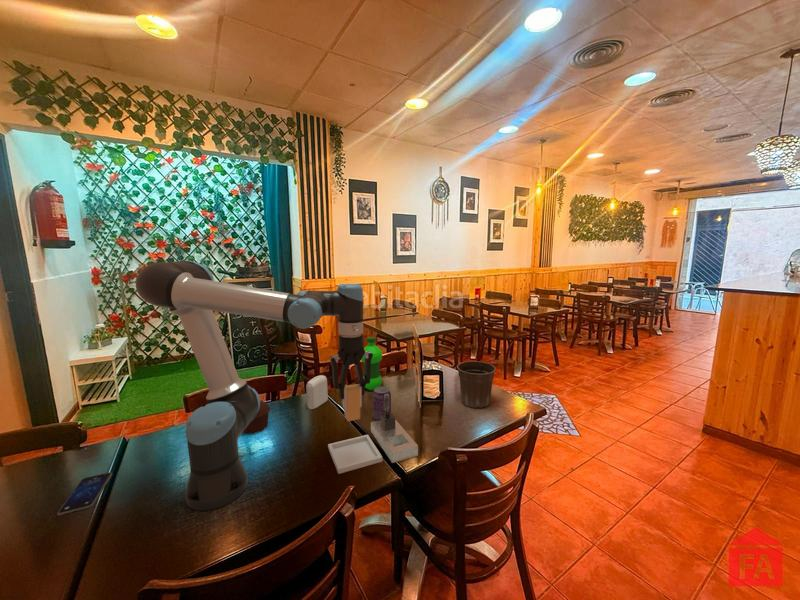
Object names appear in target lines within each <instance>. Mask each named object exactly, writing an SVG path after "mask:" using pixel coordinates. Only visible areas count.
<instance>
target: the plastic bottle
mask: <svg viewBox="0 0 800 600" xmlns="http://www.w3.org/2000/svg"><path fill="white" fill-rule="evenodd" d="M366 343H367V345H365V346H364V350H365V351H367V352H368V351H370V352H371V353H372V354H373V357H372V359H371V374H370V383H369V384H366V386H365V387H364V389H366V390H368V391H374V389H375V388H376V387H381V386H382V383H383V382H382V376H381V374H380V373H381V372H380V371H381V370H380V369H381V368H380V366H381V365H380V362H381V361H382V359H383V351H382V350H381V348H380V347H379V346H378V345H376V344H375V343H376V337H375V336H368V337H366ZM360 361H362V362H363V372H364V371H365V357H364V356H363V357H362V359H361V360H360ZM363 378H364V375H363Z"/></svg>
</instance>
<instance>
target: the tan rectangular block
mask: <svg viewBox="0 0 800 600" xmlns="http://www.w3.org/2000/svg"><path fill="white" fill-rule="evenodd" d="M345 388H346V389H347V410H345V409H344V408H343V409H344V417H345V419H346V420H347V422H351V421H356V420H357V421H358V420H361V407H360V388H359V387H358V386H357V384H356V383H354V384H349V385H345Z"/></svg>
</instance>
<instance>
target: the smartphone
mask: <svg viewBox="0 0 800 600" xmlns="http://www.w3.org/2000/svg"><path fill="white" fill-rule="evenodd" d="M112 476H113V472H110V471H109V472H106V473H101V474H95V475H92V476H88V477H84V478H83V479H81V480H80V482H79V483H78V484H77V486H76V487H75V488H74V490H72V492H71V494H70V495H69V496H68V498H67V499H66V501H64V503H63V505H62V506H61V507H60V509H59V510H58V512H57V513H56V516H58V517H60V516H61V517H62V516H63V515H69V514H72V513H73V512H76V513H77V512H81V511H84V510H88V509H91V508H92V507H94V505H95V504H96V502H97V501H98V499H99V497H100V496H101V494H102V493H103V492H104V489H105V488H106V487H107V484H108V483H109V482H110V480H111V478H112Z"/></svg>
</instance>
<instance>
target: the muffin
mask: <svg viewBox="0 0 800 600" xmlns="http://www.w3.org/2000/svg"><path fill="white" fill-rule="evenodd" d="M270 411H271V406H270V404H268V403H267V402H266V401H264V400H261V399H260V408H259V410H258V412H257V414H256V416H255V418H254V419H253V421H252V422H251V423H249V425H248V426H247V427H246V429H245V430H244V431H243V432H244V433H245V434H256V433H259V432H262V431H264V430H265V429H266V428H268V423H269V414H270Z"/></svg>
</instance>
